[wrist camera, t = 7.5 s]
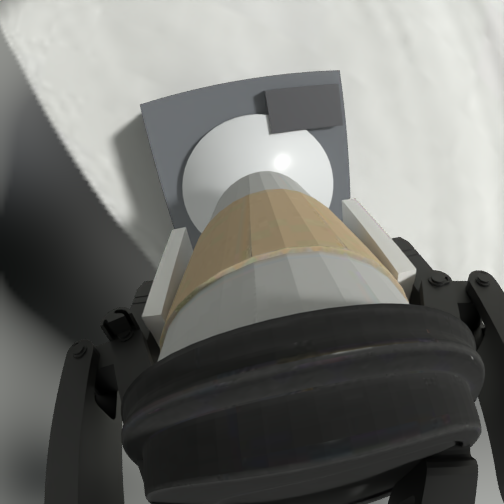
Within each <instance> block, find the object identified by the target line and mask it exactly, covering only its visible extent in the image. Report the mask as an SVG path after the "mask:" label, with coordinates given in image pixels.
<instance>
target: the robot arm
mask: <svg viewBox="0 0 504 504" xmlns="http://www.w3.org/2000/svg"><path fill="white" fill-rule="evenodd" d="M342 214H343V223H344V224H345V225H346V226H347V227H348V228H349V229H350V230H351V231H352V232H353V233H354V234H355V235H356V236H357V237H358V238H359V240H360V241H361V242H362V243H363V244H364V245H365V246H366V247H367V248H368V249H369V250H370V251H371V252H372V253H373V254H374V255H375V256H376V257H377V258H378V260H379V261H380V262H381V263H382V264H383V265H384V266H385V267H386V268H387V269H388V270H389V272H390V273H391V274H392V275H393V276H394V278H395V279H396V280H397V281H398V283H399V284H400V285H401V287H402V288H403V290H404V292H405V295H406V297H407V299H408V302H409V304H413V305H422V306H427V307H431V308H436V309H439V310H442V311H445V312H448V313H450V314H452V315H454V316H456V317H457V318H459V319H460V320H461V321H463V322H464V323H465V324H466V325H467V326H468V328H469V329H470V330H471V332H472V334H473V336H474V339H475V343H476V351H477V353H478V354H479V355H480V357H481V359H482V361H483V364H484V369H485V377H484V382H483V386H482V388H481V391H480V393H479V395H478V398H479V401H480V405H481V409H482V412H483V415H484V419H485V423H486V427H487V431H488V435H489V440H490V444H491V449H492V454H493V458H494V464H495V470H496V476H497V481H498V485H499V490H500V493H501V496H502V499H503V502H504V292H503V291H502V289H501V287H500V286H499V284H498V283H497V281H496V280H495V279H494V278H493V276H492V275H490V274H489V273H487V272H484V271H473V272H471V273H470V274H469V278H468V281H452V280H451V278H450V277H449V276H448V275H447V274H445V273H443V272H441V271H436V270H432V268H431V267H430V266H429V265H428V264H427V262H426V261H425V260H424V259H423V258H422V257H421V255H419V253H418V252H417V251H416V250H414V247H413V246H412V245H411V244H410V243H409V242H408V241H406V240H404V239H402V238H401V237H398V238H392V239H391V238H390V236H389V235H388V234H387V233H386V232H385V231H384V229H383V228H382V227H381V226H380V225H379V224H378V223H377V221H376V220H375V219H374V218H373V217H372V216H371V215H370V214H369V213H368V211H367V210H366V209H365V208H364V207H363V206H362V205H361V204H360V203H359V202H358V201H357V200H356V198H354V199H347V200H342ZM192 253H193V249H192V245H191V242H190V239H189V236H188V232H187V229H186V227H183V228H178V229H173V230H172V232H171V234H170V237H169V240H168V242H167V245H166V248H165V250H164V253H163V256H162V258H161V261H160V264H159V267H158V270H157V272H156V275H155V278H154V280H152V281H146V282H144V283H143V284H142V285H141V286H140V287H139V288H138V290H137V292H136V295H135V299H134V300H133V305H132V306H131V308H130V309H128V308H125V307H119V308H116V309H113V310H112V311H110V312H108V313H107V314H106V315H105V316H104V317H103V319H102V321H101V324H100V326H101V328H102V330H103V331H104V333H105V334H106V335H107V337H108V339H109V340H110V341H109V342H106V343H103V344H100V345H98V346H94V345H93V343H92V342H91V341H90V340H87V339H84V340H80V341H77V342H76V343H74V344H73V345H72V346H71V347H70V348H69V350H68V352H67V355H66V359H65V363H64V367H63V371H62V375H61V379H60V384H59V389H58V393H57V399H56V403H55V409H54V414H53V420H52V427H51V433H50V440H49V448H48V458H47V468H46V481H45V504H124V493H123V475H122V474H123V473H122V441H121V431H122V417H121V403H122V399H123V396H124V394H125V392H126V390H127V389H128V387H129V386H130V385H131V383H132V382H133V381H134V380H135V379H136V378H137V377H138V376H139V375H140V374H141V373H142V372H143V371H145V370H146V369H147V368H149V367H150V366H152V365H153V364H154V363H156V362H158V358H159V355H160V337H161V334H162V331H163V328H164V325H165V321H166V319H167V316H168V313H169V311H170V308H171V306H172V303H173V300H174V298H175V295H176V293H177V290H178V288H179V285H180V283H181V280H182V278H183V275H184V273H185V270H186V268H187V265H188V263H189V260H190V258H191V256H192ZM482 321H483V322H482ZM483 323H484V324H483ZM136 460H137V463H138V466H139V470H140V473H141V476H142V479H143V482H144V466H143V460H139V459H136ZM477 478H478V465H477V461H476V460H475V459H474V458H473V457H471V454H470V444H469V445H467V446H464V447H462V446H461V444H456V445H454V446H452V447H450V448H448V449H445V450H443V451H441V452H439V453H436V454H434V455H432V456H429V457H426V458H423V459H422V460H421V461H420V462H419V463H418V464H417V465H416V466H415V467H414V468H413V469H412V470H411V471H409V472H408V473H407V474H406V475H405V476H404V477H403V478H402V479H400V480H399V481H398V482H397V483H396V484H395V486H394V488H393V490H392V492H391V495H390V498H389V501H388V504H475V496H476V487H477ZM152 504H159V503H152Z"/></svg>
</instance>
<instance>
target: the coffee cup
mask: <svg viewBox="0 0 504 504" xmlns="http://www.w3.org/2000/svg"><path fill="white" fill-rule="evenodd" d="M484 377H485V369H484V364H483V361H482V359H481V357H480V355H479V354H478V353H477V351H476V343H475V339H474V336H473V334H472V332H471V330H470V329H469V328H468V326H467V325H466V324H465V323H464V322H463V321H461V320H460V319H459V318H457V317H456V316H454V315H452V314H450V313H448V312H445V311H442V310H439V309H436V308H431V307H427V306H422V305H413V304H409V302H408V299H407V297H406V295H405V292H404V290H403V288H402V287H401V285H400V284H399V283H398V281H397V280H396V279H395V278H394V276H393V275H392V274H391V273H390V272H389V270H388V269H387V268H386V267H385V266H384V265H383V264H382V263H381V262H380V261H379V260H378V258H377V257H376V256H375V255H374V254H373V253H372V252H371V251H370V250H369V249H368V248H367V247H366V246H365V245H364V244H363V243H362V242H361V241H360V240H359V238H358V237H357V236H356V235H355V234H354V233H353V232H352V231H351V230H350V229H349V228H348V227H347V226H346V225H345V224H344V223H343V222H342V221H341V220H340V219H339V218H338V217H337V216H336V215H335V214H334V213H333V212H332V211H331V210H330V209H329V208H328V207H326V206H325V205H323V204H322V203H321V202H319V201H318V200H316V199H315V198H313V197H311V196H310V195H309V194H308V193H307V192H306V191H305V190H304V189H303V188H302V187H301V186H300V185H299V184H298V183H297V182H295V181H294V180H292V179H291V178H289V177H288V176H285V175H283V174H281V173H278V172H272V171H260V172H255V173H252V174H249V175H247V176H244V177H242V178H240V179H239V180H237V181H236V182H235V183H233V184H232V185H231V186H230V187H229V188H228V189H227V190H226V191H225V192H224V193H223V195H222V196H221V198H220V199H219V201H218V203H217V205H216V207H215V210H214V212H213V214H212V217H211V219H210V221H209V223H208V225H207V226H206V228H205V229H204V231H203V232H202V234H201V235H200V237H199V239H198V241H197V244H196V246H195V248H194V251H193V253H192V256H191V258H190V260H189V263H188V265H187V268H186V270H185V273H184V275H183V278H182V280H181V283H180V285H179V288H178V290H177V293H176V295H175V298H174V300H173V303H172V306H171V308H170V311H169V313H168V316H167V319H166V321H165V325H164V328H163V331H162V334H161V337H160V355H159V358H158V362H156V363H154V364H153V365H152V366H150V367H149V368H147V369H146V370H145V371H143V372H142V373H141V374H140V375H139V376H138V377H137V378H136V379H135V380H134V381H133V382H132V383H131V385H130V386H129V387H128V389H127V390H126V392H125V394H124V396H123V399H122V403H121V417H122V421H123V424H124V425H123V428H122V431H121V441H122V445H123V448H124V450H125V452H126V453H127V455H128V456H129V457H130V459H131V460H132V461H133V462H134V463H135V464H136V465H138V463H137V460H136V459H139V460H143V466H144V489H145V496H146V499H147V500H148V501H149V502H150V503H151V504H152V503H159V504H368V503H371V502H374V501H377V500H380V499H382V498H385V497H388V496H390V495H391V492H392V490H393V488H394V486H395V484H396V483H397V482H398V481H399V480H400V479H402V478H403V477H404V476H405V475H406V474H407V473H408V472H409V471H411V470H412V469H413V468H414V467H415V466H416V465H417V464H418V463H419V462H420V461H421V460H422V459H423V458H426V457H429V456H432V455H434V454H436V453H439V452H441V451H443V450H445V449H448V448H450V447H452V446H454V445H456V444H461V446H462V447H464V446H467V445H469V444H470V447H471V446H472V445H473V444H474V443H475V442H476V441H477V439H478V438H479V436H480V434H481V424H480V420H479V416H478V413H477V409H476V407H475V403H474V402H475V401H476V399H477V397H478V395H479V393H480V391H481V388H482V386H483V382H484Z"/></svg>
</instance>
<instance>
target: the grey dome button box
mask: <svg viewBox="0 0 504 504" xmlns="http://www.w3.org/2000/svg"><path fill="white" fill-rule="evenodd" d="M140 107H141V112H142V116H143V120H144V124H145V128H146V132H147V135H148V139H149V143H150V147H151V151H152V154H153V158H154V162H155V165H156V169H157V172H158V176H159V179H160V183H161V186H162V190H163V193H164V196H165V200H166V203H167V206H168V210H169V213H170V216H171V219H172V222H173V226H174V229H178V228H183V227H186V229H187V232H188V236H189V239H190V242H191V245H192V249H193V251H194V248H195V246H196V244H197V241H198V239H199V237H200V235H201V234H202V232H203V231H204V229H205V228H206V226H207V225H208V223H209V221H210V219H211V217H212V214H213V212H214V210H215V207H216V205H217V203H218V201H219V199H220V198H221V196H222V195H223V193H224V192H225V191H226V190H227V189H228V188H229V187H230V186H231V185H232V184H233V183H235V182H236V181H237V180H239V179H240V178H242V177H244V176H247V175H249V174H252V173H255V172H260V171H272V172H278V173H281V174H283V175H285V176H288V177H289V178H291V179H292V180H294V181H295V182H297V183H298V184H299V185H300V186H301V187H302V188H303V189H304V190H305V191H306V192H307V193H308V194H309V195H310V196H311V197H313V198H315V199H316V200H318V201H319V202H321V203H322V204H323V205H325V206H326V207H328V208H329V209H330V210H331V211H332V212H333V213H334V214H335V215H336V216H337V217H338V218H339V219H340V220H341V221H342V222H343V214H342V200H347V199H350V177H349V158H348V144H347V131H346V120H345V110H344V101H343V92H342V84H341V77H340V70H334V71H315V72H302V73H291V74H282V75H273V76H266V77H259V78H252V79H246V80H240V81H234V82H228V83H223V84H218V85H213V86H208V87H204V88H199V89H195V90H191V91H187V92H183V93H179V94H175V95H171V96H167V97H164V98H160V99H157V100H153V101H150V102H147V103H144V104H140Z"/></svg>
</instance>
